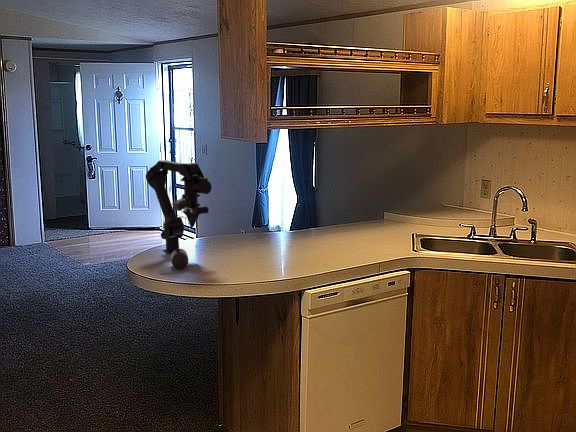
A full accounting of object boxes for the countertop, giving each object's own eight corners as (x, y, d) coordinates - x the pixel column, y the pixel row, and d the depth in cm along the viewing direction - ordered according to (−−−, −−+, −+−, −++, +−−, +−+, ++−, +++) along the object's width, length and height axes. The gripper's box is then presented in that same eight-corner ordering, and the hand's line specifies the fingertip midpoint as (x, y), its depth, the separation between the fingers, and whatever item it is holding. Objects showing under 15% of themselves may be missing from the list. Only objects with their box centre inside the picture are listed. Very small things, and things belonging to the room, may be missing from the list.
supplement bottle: (167, 254, 261) (168, 260, 249) (181, 245, 262) (183, 251, 250) (176, 267, 263) (177, 274, 251) (190, 258, 263) (192, 265, 252)
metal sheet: (159, 267, 258) (159, 266, 258) (198, 264, 262) (198, 264, 262) (161, 274, 248) (161, 273, 248) (202, 271, 252) (202, 270, 252)
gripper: (163, 191, 275) (164, 226, 277) (186, 196, 261) (187, 232, 263) (185, 189, 282) (186, 223, 284) (208, 193, 268) (209, 229, 270)
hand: (191, 227), depth 275 cm, fingers closed
